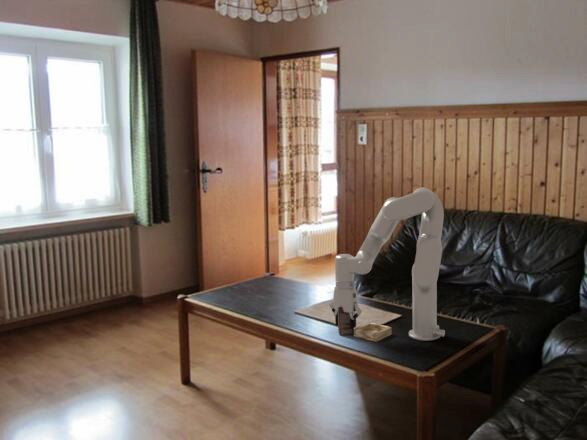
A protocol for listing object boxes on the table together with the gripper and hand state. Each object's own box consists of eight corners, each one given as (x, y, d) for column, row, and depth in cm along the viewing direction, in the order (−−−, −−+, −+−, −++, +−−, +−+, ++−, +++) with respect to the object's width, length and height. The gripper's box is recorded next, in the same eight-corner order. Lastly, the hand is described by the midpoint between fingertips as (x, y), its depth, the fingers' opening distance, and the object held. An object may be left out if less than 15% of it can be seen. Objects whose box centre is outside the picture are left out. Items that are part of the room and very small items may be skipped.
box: (351, 331, 254) (351, 303, 252) (353, 334, 249) (353, 306, 247) (337, 332, 253) (336, 304, 251) (339, 335, 249) (338, 307, 247)
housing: (391, 334, 248) (391, 327, 248) (376, 341, 240) (375, 334, 240) (369, 328, 256) (369, 322, 255) (353, 336, 248) (353, 329, 247)
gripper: (367, 285, 245) (368, 328, 247) (333, 279, 256) (335, 320, 259) (356, 289, 239) (357, 332, 242) (322, 283, 251) (323, 324, 254)
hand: (345, 325), depth 251 cm, fingers closed on box, 6 cm apart
